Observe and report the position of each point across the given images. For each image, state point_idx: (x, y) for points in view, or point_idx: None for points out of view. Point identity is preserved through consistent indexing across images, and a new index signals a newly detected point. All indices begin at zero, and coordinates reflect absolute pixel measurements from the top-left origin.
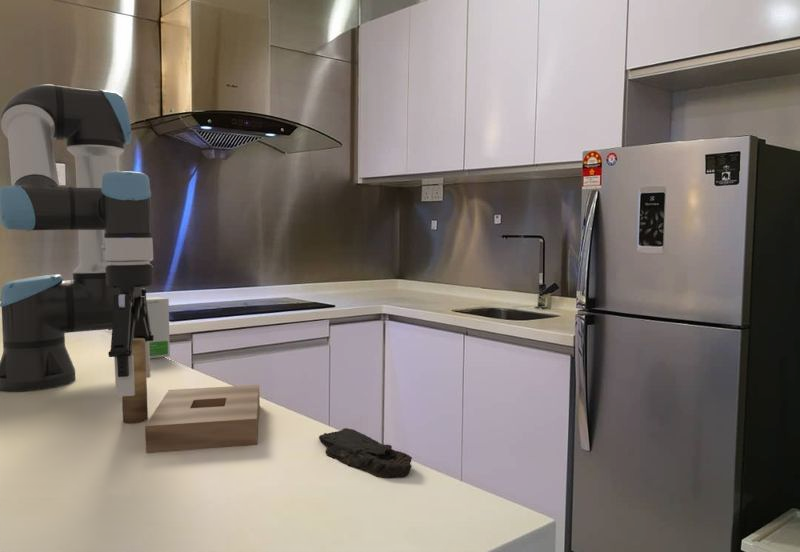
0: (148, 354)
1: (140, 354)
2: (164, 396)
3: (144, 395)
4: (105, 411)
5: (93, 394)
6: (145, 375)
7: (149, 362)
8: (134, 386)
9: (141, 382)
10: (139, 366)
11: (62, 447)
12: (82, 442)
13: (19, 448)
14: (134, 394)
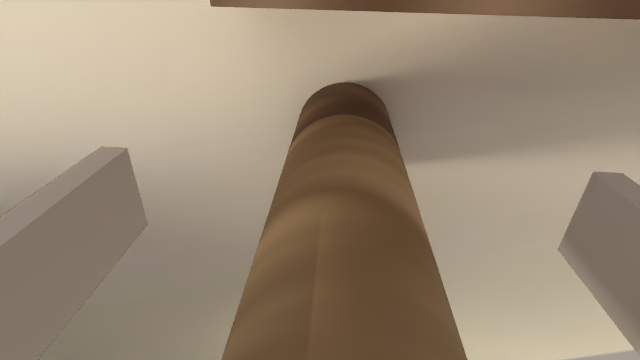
0: (3, 248)
1: (448, 341)
2: (382, 10)
3: (376, 127)
4: (207, 236)
5: None
6: (366, 172)
7: (44, 199)
8: (629, 198)
9: (401, 173)
10: (430, 254)
11: (567, 277)
12: (547, 241)
13: (514, 350)
14: (603, 173)
